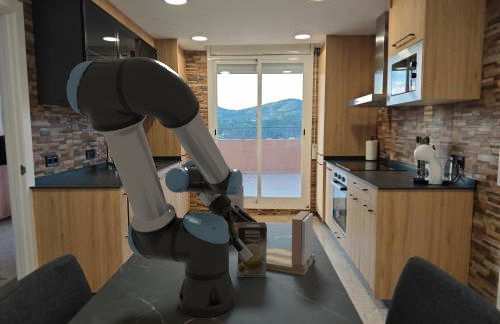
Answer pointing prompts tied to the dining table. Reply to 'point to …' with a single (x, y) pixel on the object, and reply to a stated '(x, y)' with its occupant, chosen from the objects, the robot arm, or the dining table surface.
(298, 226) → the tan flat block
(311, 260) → the shelf board
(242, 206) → the cracker box
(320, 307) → the dining table surface
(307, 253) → the bookend
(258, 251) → the coffee box
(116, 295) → the dining table surface
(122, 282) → the dining table surface
